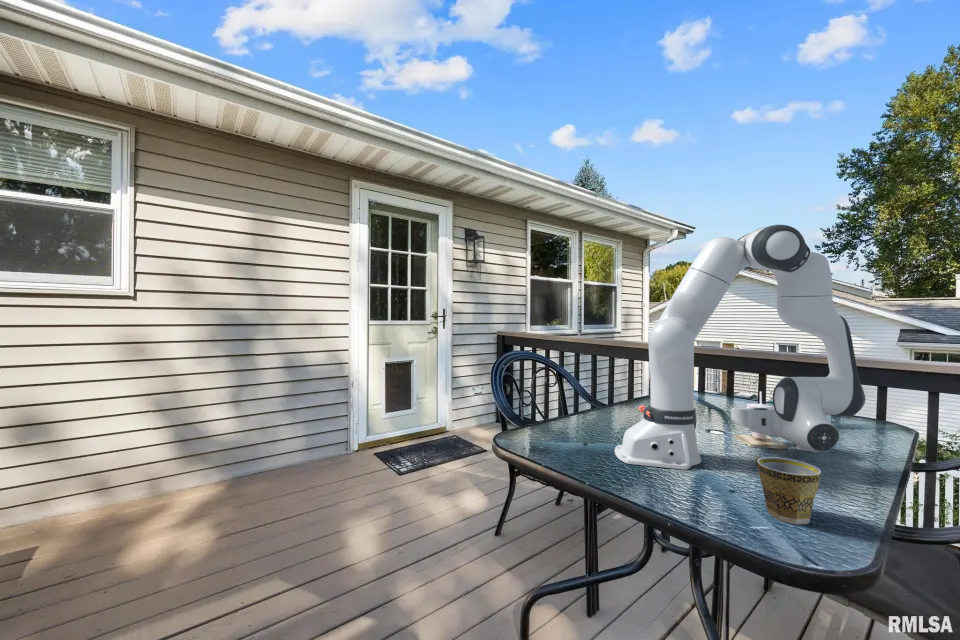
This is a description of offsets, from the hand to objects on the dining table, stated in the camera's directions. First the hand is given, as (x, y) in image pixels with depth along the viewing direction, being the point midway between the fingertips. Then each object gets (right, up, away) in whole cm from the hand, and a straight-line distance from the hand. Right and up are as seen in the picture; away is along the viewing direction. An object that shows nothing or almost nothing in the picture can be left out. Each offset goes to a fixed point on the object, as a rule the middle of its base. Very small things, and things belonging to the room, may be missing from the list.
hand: (757, 410), depth 125 cm
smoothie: (0, -8, -1) cm, 8 cm away
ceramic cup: (-27, -10, -45) cm, 54 cm away
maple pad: (0, -10, -1) cm, 10 cm away
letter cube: (+10, -10, -6) cm, 16 cm away
